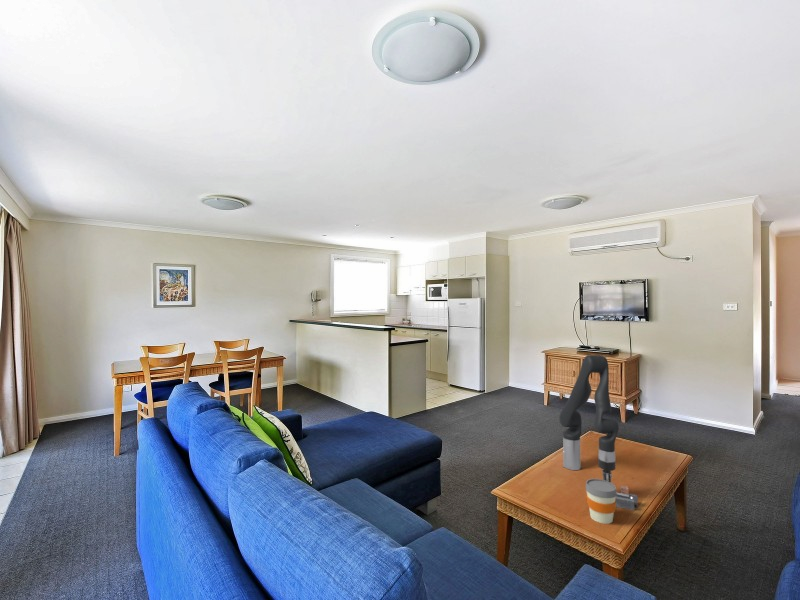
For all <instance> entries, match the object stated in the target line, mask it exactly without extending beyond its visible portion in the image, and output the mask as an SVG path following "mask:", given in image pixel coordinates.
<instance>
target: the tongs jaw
mask: <svg viewBox="0 0 800 600" xmlns="http://www.w3.org/2000/svg"><path fill="white" fill-rule="evenodd" d="M615 508H621V509H625V510H629V511H630V510H631V511H635V507H634V500H632V499H627V498H621V497H616V507H615Z"/></svg>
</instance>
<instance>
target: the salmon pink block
mask: <svg viewBox="0 0 800 600" xmlns="http://www.w3.org/2000/svg"><path fill="white" fill-rule="evenodd" d="M620 493H622V494H626V495H629V494H630V493H629V486H627V485H623V484H622V485H621V484H620Z"/></svg>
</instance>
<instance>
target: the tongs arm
mask: <svg viewBox="0 0 800 600" xmlns="http://www.w3.org/2000/svg"><path fill="white" fill-rule="evenodd" d="M628 494H629V495H626V494H622V493H621V492H617V495H616V497H621V498H627V499H632V500H634V508H638V505H639V503H638V501H639V500H638V499H639V498H638V497H639V496H638V495H637V494H634V493H628Z"/></svg>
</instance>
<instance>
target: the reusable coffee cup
mask: <svg viewBox="0 0 800 600" xmlns="http://www.w3.org/2000/svg"><path fill="white" fill-rule="evenodd" d="M585 491H586V494H585V495H586V501H587V507H588V508H589V509H588V510H589V514H590V518H591V519H592V520H593V521H595V522H597V523H600V524H604V525H605V524H606V525H608V524H612V523H613V519H614V514H615V512H616V508H617V507H616V495H617V493H618V492H617V487H616V485H615V484H614V483H612V482H611V483H610V482H608V481H605V480H603V478H602V479H600V478H589V479H587V480H586V481H585Z"/></svg>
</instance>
